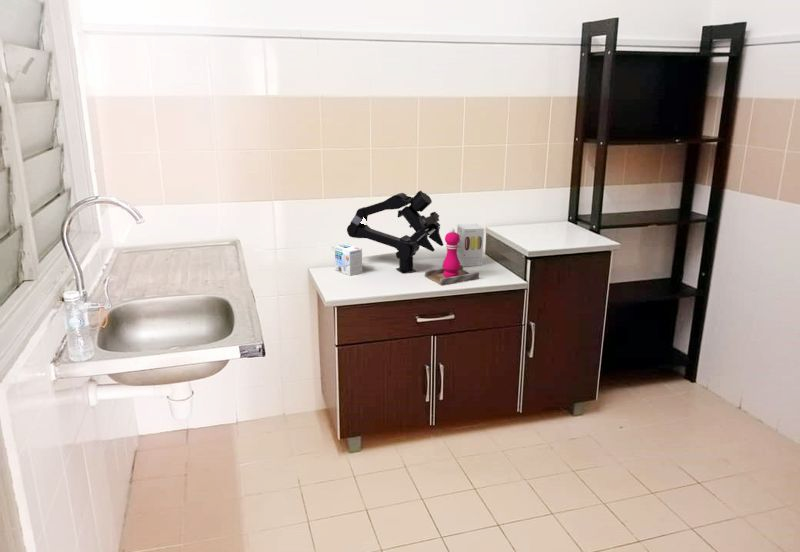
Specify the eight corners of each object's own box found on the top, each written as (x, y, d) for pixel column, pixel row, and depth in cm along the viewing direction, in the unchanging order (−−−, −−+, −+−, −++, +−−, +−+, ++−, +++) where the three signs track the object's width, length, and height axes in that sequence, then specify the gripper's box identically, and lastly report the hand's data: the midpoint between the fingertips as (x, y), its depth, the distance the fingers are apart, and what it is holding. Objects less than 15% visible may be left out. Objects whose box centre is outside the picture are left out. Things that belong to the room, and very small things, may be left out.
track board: (441, 285, 246) (441, 279, 245) (424, 276, 257) (424, 270, 256) (478, 278, 254) (479, 273, 253) (461, 270, 265) (461, 265, 264)
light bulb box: (334, 270, 264) (334, 245, 261) (347, 267, 268) (347, 243, 265) (350, 276, 257) (349, 251, 253) (363, 273, 261) (362, 248, 257)
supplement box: (462, 266, 270) (463, 229, 265) (455, 261, 278) (456, 224, 273) (482, 265, 272) (484, 227, 267) (475, 259, 280) (476, 223, 275)
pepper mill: (459, 273, 258) (461, 226, 252) (460, 279, 251) (461, 231, 245) (442, 273, 259) (443, 226, 253) (442, 278, 252) (443, 230, 246)
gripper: (417, 210, 243) (442, 241, 242) (436, 202, 259) (460, 231, 258) (399, 228, 249) (423, 258, 248) (419, 219, 265) (442, 247, 264)
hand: (438, 248), depth 254 cm, fingers open, 9 cm apart
